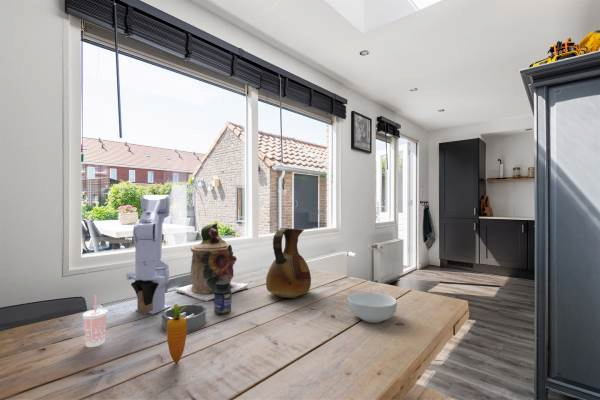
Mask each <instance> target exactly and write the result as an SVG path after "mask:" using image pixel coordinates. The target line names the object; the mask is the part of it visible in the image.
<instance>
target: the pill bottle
mask: <svg viewBox="0 0 600 400" xmlns="http://www.w3.org/2000/svg"><path fill="white" fill-rule="evenodd" d="M216 287H217V289H216V290H215V291H214V299H213V302H214V303H213V306H214V307H213V309H214V310H213V312H214V314H216V315H220V316H223V315H228V314H230V312H231V311H232V293H231V289H230V288H229V282H228V281H220V282H217V283H216Z"/></svg>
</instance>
